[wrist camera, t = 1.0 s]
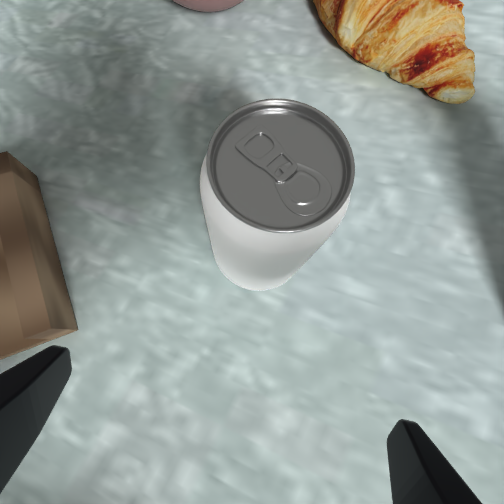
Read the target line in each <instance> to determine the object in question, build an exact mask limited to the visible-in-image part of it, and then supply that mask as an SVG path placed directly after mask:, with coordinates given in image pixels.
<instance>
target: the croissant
mask: <svg viewBox="0 0 504 504" xmlns="http://www.w3.org/2000/svg"><path fill="white" fill-rule="evenodd" d="M313 2H314V3H315V6H316V9H317V11H318V15H319V18H320V20H321V21H322V23H323V24H324V26H325V27H326V28H327V30H328V31H329V32H330V33H331V34H332V35H333V37H334V38H335V39H336V40H337V43H338V44H339V45H340V46H341V47H342V48H343V49H344V50H345V51H347V52H348V53H349V54H350V55H351V56H352V57H353V58H355V59H356V60H358V61H359V62H361V63H363V64H365V65H367V66H368V67H371V68H373V69H376V70H379V71H382V72H385V71H386V72H387V73H388V74H390V77H391V78H392V79H394V80H396V81H398V82H400V83H402V84H408V85H412V86H413V87H415V88H423V89H424V90H425V91H426V92H427V94H428V95H429V96H430V97H433V98H435V99H437V100H440V101H443V102H446V103H450V104H460V103H464V102H466V101H468V100H469V99H471V98H472V96H473V95H474V93H475V89H474V86H473V82H474V72H475V64H474V57H475V55H474V52H473V51H472V50H470V49H468V48H467V47H466V45H465V43H464V41H465V39H466V37H465V34H464V29H465V28H464V24H465V19H464V16H463V14H462V8H463V6H464V4H463V3H462V2H461V1H459V0H313Z"/></svg>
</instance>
